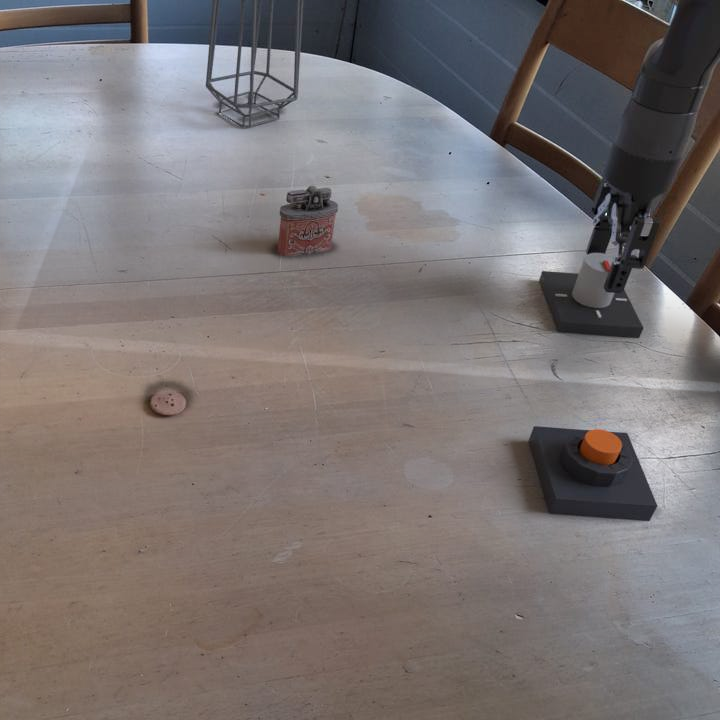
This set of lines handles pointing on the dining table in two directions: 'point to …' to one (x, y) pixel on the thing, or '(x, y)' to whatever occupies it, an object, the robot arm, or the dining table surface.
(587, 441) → the button
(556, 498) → the button block
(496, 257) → the dining table surface
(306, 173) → the dining table surface
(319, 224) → the lighter
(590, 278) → the timer dial
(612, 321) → the dial panel
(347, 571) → the dining table surface
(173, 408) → the cookie
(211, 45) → the geometric lantern
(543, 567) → the dining table surface
